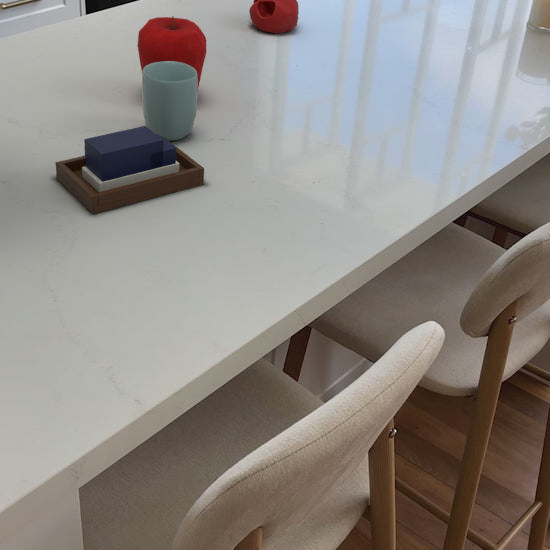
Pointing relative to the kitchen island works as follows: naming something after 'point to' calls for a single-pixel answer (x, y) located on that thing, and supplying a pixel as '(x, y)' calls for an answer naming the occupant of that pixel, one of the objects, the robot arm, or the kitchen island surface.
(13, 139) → the kitchen island surface
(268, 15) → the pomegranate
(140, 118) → the kitchen island surface
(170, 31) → the apple
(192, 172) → the wooden tray
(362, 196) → the kitchen island surface
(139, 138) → the whiteboard eraser
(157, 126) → the cup
